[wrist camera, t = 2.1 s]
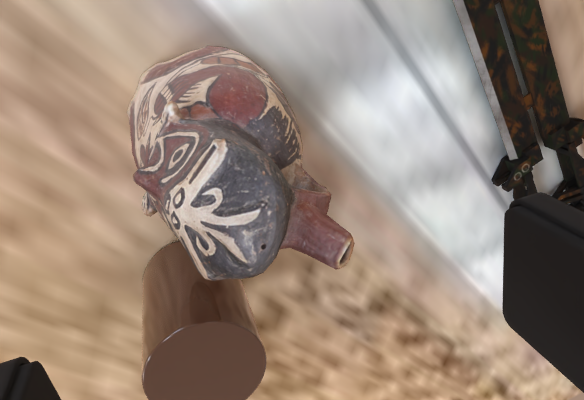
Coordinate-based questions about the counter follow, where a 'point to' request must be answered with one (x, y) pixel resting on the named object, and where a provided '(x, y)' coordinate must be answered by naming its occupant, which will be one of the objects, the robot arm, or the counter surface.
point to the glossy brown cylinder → (197, 333)
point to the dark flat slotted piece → (513, 106)
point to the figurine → (228, 166)
